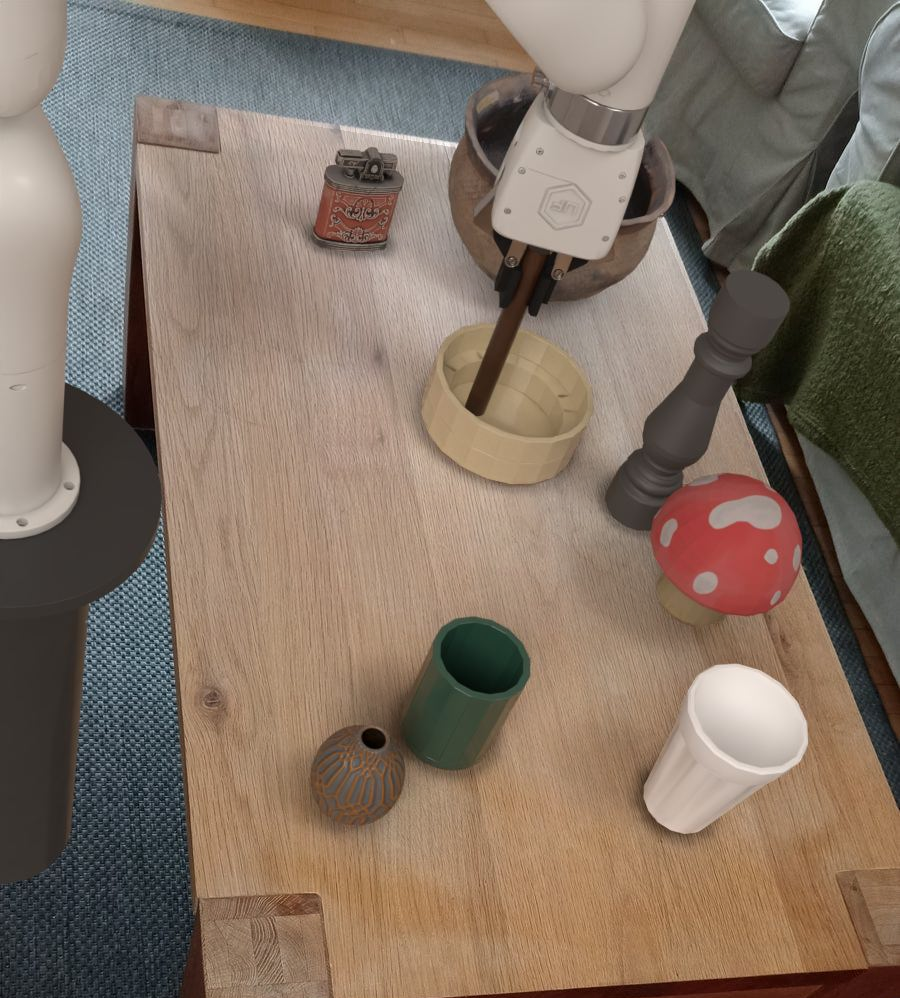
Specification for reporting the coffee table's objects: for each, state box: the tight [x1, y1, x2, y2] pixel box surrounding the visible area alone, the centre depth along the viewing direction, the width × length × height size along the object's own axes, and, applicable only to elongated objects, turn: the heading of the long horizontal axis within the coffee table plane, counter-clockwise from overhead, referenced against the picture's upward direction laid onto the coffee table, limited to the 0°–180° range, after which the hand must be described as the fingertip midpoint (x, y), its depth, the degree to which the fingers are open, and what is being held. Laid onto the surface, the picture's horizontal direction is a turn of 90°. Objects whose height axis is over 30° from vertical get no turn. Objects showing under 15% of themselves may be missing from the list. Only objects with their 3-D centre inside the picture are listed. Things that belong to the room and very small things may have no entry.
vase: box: [309, 723, 406, 827], centre depth 96 cm, size 7×7×9 cm
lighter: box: [310, 146, 405, 253], centre depth 129 cm, size 8×3×10 cm, turn 108°
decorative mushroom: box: [649, 472, 803, 627], centre depth 114 cm, size 13×13×15 cm
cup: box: [642, 663, 809, 835], centre depth 103 cm, size 10×10×13 cm
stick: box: [465, 244, 550, 416], centre depth 116 cm, size 2×2×18 cm
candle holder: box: [604, 268, 791, 532], centre depth 115 cm, size 6×6×25 cm
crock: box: [399, 615, 532, 771], centre depth 101 cm, size 8×8×10 cm
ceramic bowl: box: [447, 72, 676, 303], centre depth 133 cm, size 22×22×15 cm
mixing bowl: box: [420, 322, 595, 485], centre depth 123 cm, size 15×15×6 cm
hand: (517, 300), depth 113 cm, fingers closed on stick, 2 cm apart
